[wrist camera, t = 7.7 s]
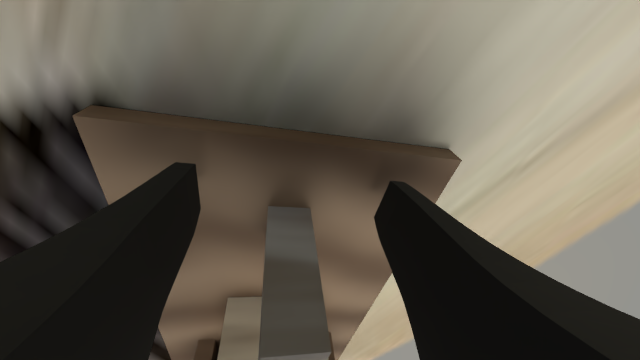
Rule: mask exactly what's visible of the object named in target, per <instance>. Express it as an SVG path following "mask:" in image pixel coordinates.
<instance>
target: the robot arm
mask: <svg viewBox="0 0 640 360" xmlns="http://www.w3.org/2000/svg"><path fill="white" fill-rule="evenodd" d="M200 210H201V205H200V197H199V188H198V180H197V171H196V164H192V163H180V162H175V163H173V164H172V165H170V166H169V167H167V168H166V169H164V170H163V171H161V172H160V173H158V174H157V175H155V176H154V177H152V178H151V179H149V180H148V181H146V182H145V183H143V184H142V185H140V186H139V187H137V188H135V189H134V190H132V191H131V192H129V193H128V194H126V195H125V196H123V197H122V198H120V199H118V200H117V201H115V202H113V203H112V204H110V205H108V206H107V207H105V208H103V209H101V210H100V211H98V212H96V213H95V214H93V215H91V216H90V217H88V218H86V219H85V220H83V221H81V222H79V223H77V224H76V225H74V226H72V227H70V228H68V229H66V230H65V231H63V232H61V233H59V234H57V235H55V236H53V237H51V238H49V239H47V240H45V241H43V242H41V243H39V244H37V245H35V246H33V247H31V248H29V249H27V250H25V251H23V252H21V253H19V254H17V255H15V256H13V257H10V258H8V259H6V260H4V261H1V262H0V360H148V358H149V355H150V351H151V348H152V345H153V341H154V338H155V335H156V332H157V328H158V325H159V322H160V319H161V315H162V312H163V309H164V307H165V304H166V301H167V299H168V296H169V294H170V291H171V289H172V286H173V284H174V282H175V279H176V277H177V275H178V272H179V270H180V267H181V265H182V263H183V260H184V258H185V255H186V253H187V251H188V248H189V246H190V243H191V241H192V238H193V236H194V233H195V229H196V226H197V222H198V218H199V214H200ZM374 220H375V225H376V229H377V233H378V237H379V240H380V243H381V245H382V248H383V250H384V253H385V255H386V258H387V260H388V263H389V265H390V268H391V270H392V273H393V275H394V278H395V280H396V283H397V285H398V287H399V290H400V293H401V295H402V298H403V301H404V304H405V307H406V311H407V314H408V317H409V321H410V324H411V328H412V331H413V335H414V339H415V342H416V346H417V350H418V354H419V358H420V360H640V319H638V318H635V317H633V316H631V315H628V314H626V313H624V312H621V311H619V310H616V309H614V308H612V307H610V306H607V305H605V304H603V303H601V302H599V301H597V300H595V299H593V298H591V297H588V296H586V295H584V294H582V293H580V292H578V291H576V290H574V289H572V288H570V287H568V286H566V285H564V284H562V283H560V282H558V281H556V280H554V279H552V278H550V277H548V276H547V275H545V274H543V273H541V272H539V271H537V270H535V269H533V268H532V267H530V266H528V265H526V264H524V263H523V262H521V261H519V260H517V259H516V258H514V257H512V256H511V255H509V254H507V253H506V252H504V251H502V250H501V249H499V248H498V247H496V246H494V245H493V244H491V243H490V242H488V241H486V240H485V239H483V238H482V237H480V236H479V235H477V234H476V233H475V232H473V231H472V230H470V229H469V228H467V227H466V226H464V225H463V224H462V223H460V222H459V221H457V220H456V219H455V218H453V217H452V216H451V215H449V214H448V213H447V212H445V211H444V210H443V209H441V208H440V207H439V206H437V205H436V204H435V203H433V202H432V201H431V200H429V199H428V198H427V197H425V196H424V195H423V194H421V193H420V192H419V191H417V190H416V189H414V188H413V187H411V186H410V185H408V184H407V183H405V182H401V181H390V182H389V184H388V187H387V189H386V191H385V193H384V196H383V198H382V200H381V202H380V205H379V207H378V209H377V211H376V213H375V216H374Z"/></svg>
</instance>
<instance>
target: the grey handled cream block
mask: <svg viewBox="0 0 640 360" xmlns="http://www.w3.org/2000/svg"><path fill="white" fill-rule="evenodd" d="M330 354H331V345H330V338H329V332H328V325H327V318H326V311H325V304H324V298H323V291H322V284H321V277H320V270H319V263H318V257H317V250H316V243H315V236H314V229H313V222H312V216H311V209H310V208H296V207H275V206H268V214H267V226H266V238H265V255H264V272H263V288H262V297H236V298H228V301H227V306H226V312H225V318H224V324H223V329H222V335H221V341H220V347H219V353H218V358H217V360H329V358H328V357H329V356H330Z"/></svg>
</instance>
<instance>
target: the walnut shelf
mask: <svg viewBox="0 0 640 360" xmlns="http://www.w3.org/2000/svg"><path fill="white" fill-rule="evenodd" d="M73 119H74V121H75V124H76V126H77V128H78V131H79V133H80V136H81V138H82V141H83V143H84V146H85V148H86V151H87V153H88V156H89V158H90V160H91V163H92V165H93V168H94V170H95V173H96V175H97V178H98V180H99V183H100V185H101V187H102V190H103V192H104V195H105V197H106V200H107V202H108V205H110V204H112V203H113V202H115V201H117V200H118V199H120V198H122V197H123V196H125V195H126V194H128V193H129V192H131V191H132V190H134V189H135V188H137V187H139V186H140V185H142V184H143V183H145V182H146V181H148V180H149V179H151V178H152V177H154V176H155V175H157V174H158V173H160V172H161V171H163V170H164V169H166V168H167V167H169V166H170V165H172V164H173V163H175V162H180V163H192V164H196V171H197V180H198V188H199V197H200V205H201V210H200V214H199V218H198V222H197V226H196V229H195V233H194V236H193V238H192V241H191V243H190V246H189V248H188V251H187V253H186V255H185V258H184V260H183V263H182V265H181V267H180V270H179V272H178V275H177V277H176V279H175V282H174V284H173V286H172V289H171V291H170V294H169V296H168V299H167V301H166V304H165V307H164V309H163V312H162V315H161V319H160V322H159V325H158V328H159V330H160V333H161V335H162V337H163V340H164V342H165V345H166V347H167V350H168V352H169V355H170V357H171V360H217V358H218V353H219V347H220V341H221V335H222V329H223V324H224V318H225V312H226V306H227V301H228V298H236V297H262V288H263V272H264V255H265V238H266V226H267V214H268V206H275V207H296V208H310V209H311V216H312V222H313V229H314V236H315V243H316V250H317V257H318V263H319V270H320V277H321V284H322V291H323V298H324V304H325V311H326V318H327V325H328V332H329V338H330V345H331V354H330V356H329V357H328V358H329V360H338V359H339V357H340V356H341V354H342V352H343V351H344V349H345V348H346V346H347V344H348V343H349V341H350V340H351V338H352V336H353V335H354V333H355V332H356V330H357V328H358V327H359V325H360V324H361V322H362V320H363V319H364V317H365V315H366V314H367V312H368V311H369V309H370V307H371V306H372V304H373V303H374V301H375V299H376V298H377V296H378V295H379V293H380V291H381V290H382V288H383V286H384V285H385V283H386V282H387V280H388V278H389V277H390V275H391V274H392V270H391V268H390V265H389V263H388V260H387V258H386V255H385V253H384V250H383V248H382V245H381V243H380V240H379V237H378V233H377V229H376V225H375V220H374V216H375V213H376V211H377V209H378V207H379V205H380V202H381V200H382V198H383V196H384V193H385V191H386V189H387V187H388V184H389V182H390V181H401V182H405V183H407V184H408V185H410V186H411V187H413V188H414V189H416V190H417V191H419V192H420V193H421V194H423V195H424V196H425V197H427V198H428V199H429V200H431V201H432V202H433V203H436V201H437V199H438V198H439V196H440V195H441V193H442V191H443V190H444V188H445V187H446V185H447V183H448V182H449V180H450V179H451V177H452V175H453V174H454V172H455V170H456V169H457V167H458V166H459V164H460V162H461V161H462V160H461V159H460V158H459V157H457V156H456V155H455V154H454V153H453V152H452V151H451V150H449V149H441V148H433V147H425V146H416V145H408V144H400V143H392V142H384V141H376V140H368V139H360V138H352V137H344V136H336V135H328V134H320V133H312V132H304V131H296V130H288V129H280V128H272V127H264V126H256V125H248V124H240V123H232V122H224V121H216V120H208V119H200V118H192V117H184V116H176V115H168V114H160V113H152V112H144V111H136V110H128V109H120V108H112V107H104V106H96V105H90V106H89V107H87V108H85V109H83V110H81V111H80V112H78V113H76V114H74V115H73Z"/></svg>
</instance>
